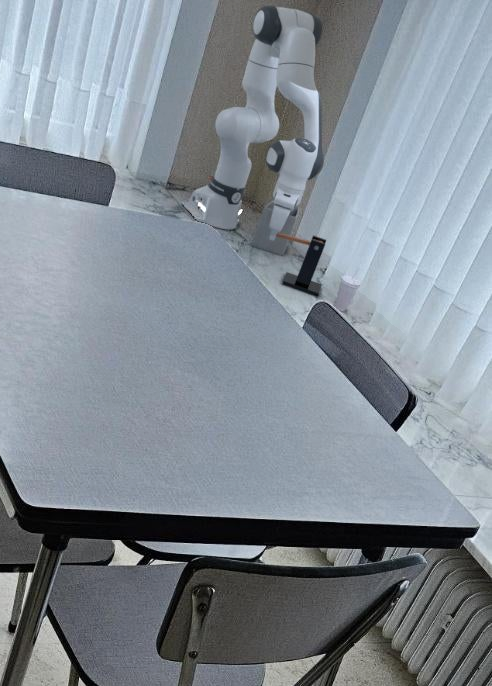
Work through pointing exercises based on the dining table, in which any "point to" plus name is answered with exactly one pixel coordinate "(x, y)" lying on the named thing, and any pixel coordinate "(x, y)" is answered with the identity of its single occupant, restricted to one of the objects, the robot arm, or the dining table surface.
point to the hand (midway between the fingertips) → (272, 236)
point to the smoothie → (346, 291)
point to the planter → (264, 232)
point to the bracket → (307, 269)
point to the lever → (294, 238)
